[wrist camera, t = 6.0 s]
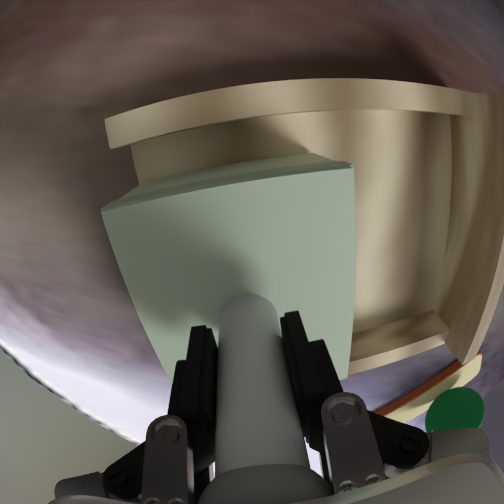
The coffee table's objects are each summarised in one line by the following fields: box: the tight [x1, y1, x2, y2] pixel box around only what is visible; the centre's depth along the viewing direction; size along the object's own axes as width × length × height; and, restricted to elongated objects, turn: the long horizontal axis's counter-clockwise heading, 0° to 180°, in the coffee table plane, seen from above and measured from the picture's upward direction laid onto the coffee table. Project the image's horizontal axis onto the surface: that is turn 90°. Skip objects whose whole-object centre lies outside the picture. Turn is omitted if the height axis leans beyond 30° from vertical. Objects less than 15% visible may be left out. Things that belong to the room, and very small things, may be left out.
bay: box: [104, 78, 504, 375], centre depth 16 cm, size 23×20×7 cm
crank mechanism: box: [374, 351, 485, 432], centre depth 22 cm, size 25×7×19 cm, turn 122°
